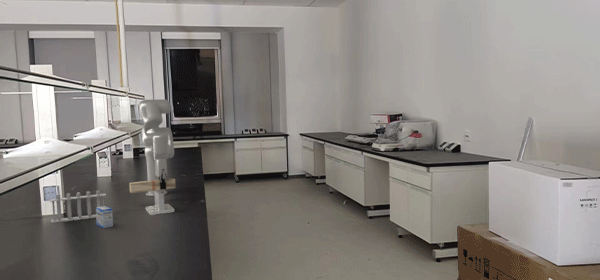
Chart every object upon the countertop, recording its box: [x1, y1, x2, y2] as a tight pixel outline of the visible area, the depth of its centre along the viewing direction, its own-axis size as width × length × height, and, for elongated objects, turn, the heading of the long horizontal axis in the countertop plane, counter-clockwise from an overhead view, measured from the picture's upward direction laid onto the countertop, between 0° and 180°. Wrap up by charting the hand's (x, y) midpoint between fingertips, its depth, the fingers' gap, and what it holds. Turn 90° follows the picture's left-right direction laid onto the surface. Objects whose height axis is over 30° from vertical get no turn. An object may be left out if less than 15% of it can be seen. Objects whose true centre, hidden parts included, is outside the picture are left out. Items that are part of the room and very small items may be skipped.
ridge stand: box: [145, 190, 175, 216], centre depth 230 cm, size 14×12×10 cm
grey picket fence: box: [49, 190, 107, 224], centre depth 217 cm, size 25×4×13 cm, turn 116°
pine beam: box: [128, 177, 177, 194], centre depth 244 cm, size 4×24×5 cm, turn 122°
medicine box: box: [95, 205, 114, 229], centre depth 203 cm, size 8×4×9 cm, turn 47°
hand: (162, 187), depth 247 cm, fingers closed on pine beam, 4 cm apart
